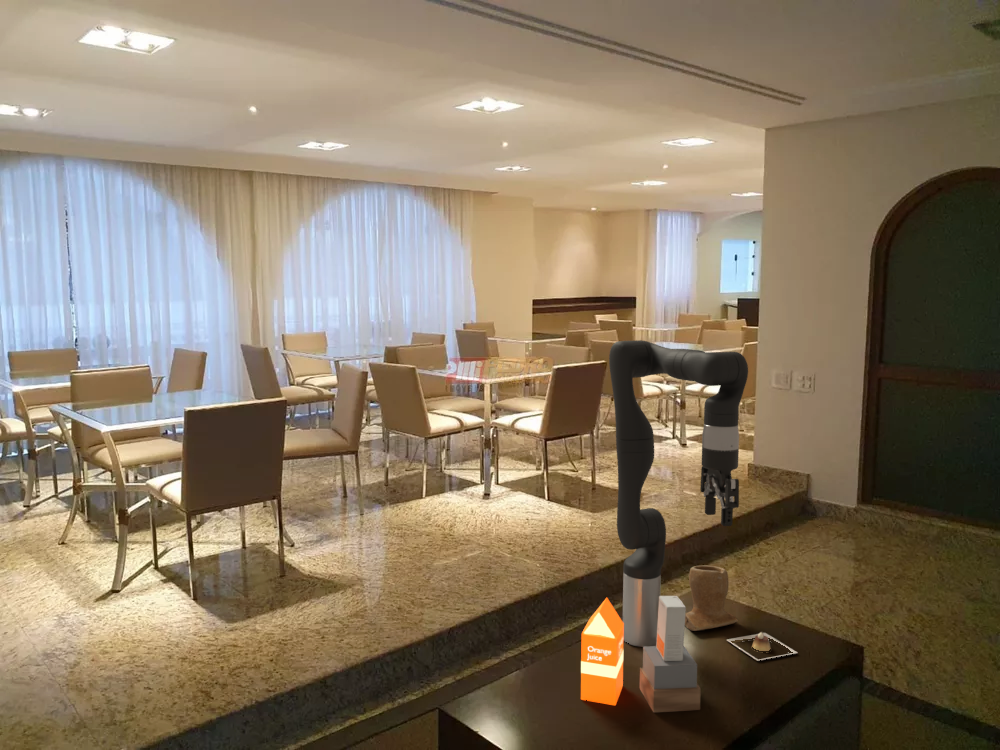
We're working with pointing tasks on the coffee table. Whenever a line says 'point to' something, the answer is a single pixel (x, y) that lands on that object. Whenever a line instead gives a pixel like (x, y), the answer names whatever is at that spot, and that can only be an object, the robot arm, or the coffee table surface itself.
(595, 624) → the orange juice
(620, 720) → the coffee table surface
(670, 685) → the gray top block
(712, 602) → the stone cup
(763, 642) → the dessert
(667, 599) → the skincare box
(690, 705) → the walnut base block
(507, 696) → the coffee table surface
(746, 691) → the coffee table surface
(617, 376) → the robot arm
